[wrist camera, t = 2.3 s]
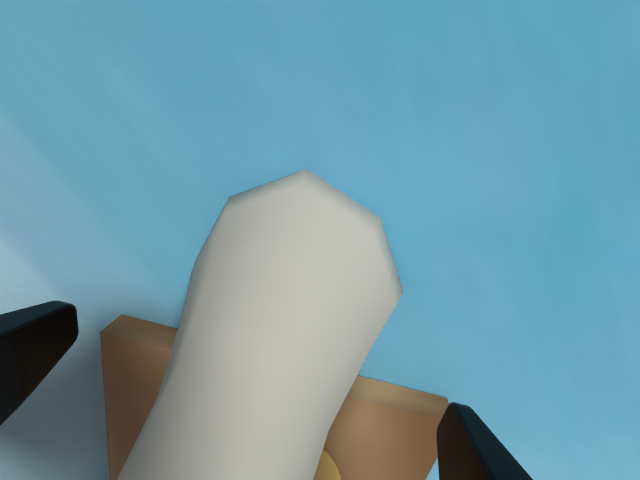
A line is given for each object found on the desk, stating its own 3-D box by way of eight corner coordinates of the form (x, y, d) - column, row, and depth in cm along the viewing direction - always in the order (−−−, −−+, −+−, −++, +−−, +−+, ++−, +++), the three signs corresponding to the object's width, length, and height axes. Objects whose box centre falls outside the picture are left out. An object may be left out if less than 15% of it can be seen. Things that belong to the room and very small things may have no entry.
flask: (288, 376, 14) (142, 898, 5) (167, 251, 12) (-411, 659, 3) (438, 292, 12) (734, 993, 2) (312, 126, 10) (-248, 267, 1)
